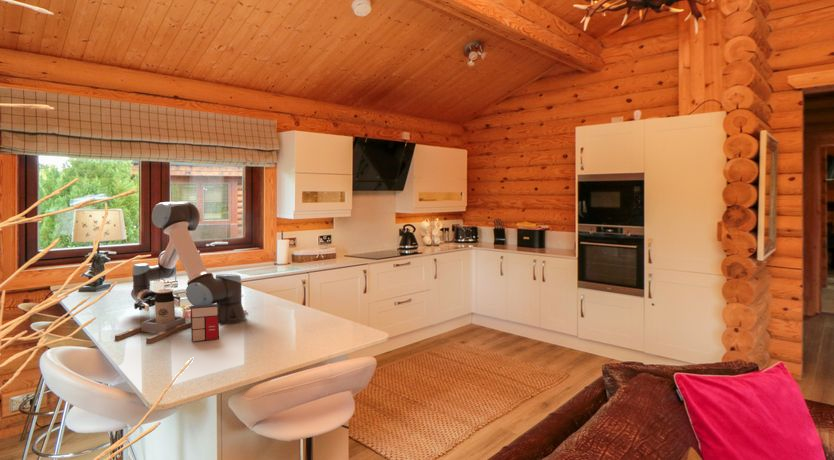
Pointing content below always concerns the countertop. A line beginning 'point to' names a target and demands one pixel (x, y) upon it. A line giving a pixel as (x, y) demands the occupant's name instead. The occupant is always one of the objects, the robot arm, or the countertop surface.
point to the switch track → (154, 337)
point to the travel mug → (164, 306)
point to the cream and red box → (204, 322)
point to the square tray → (160, 325)
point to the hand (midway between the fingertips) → (163, 305)
